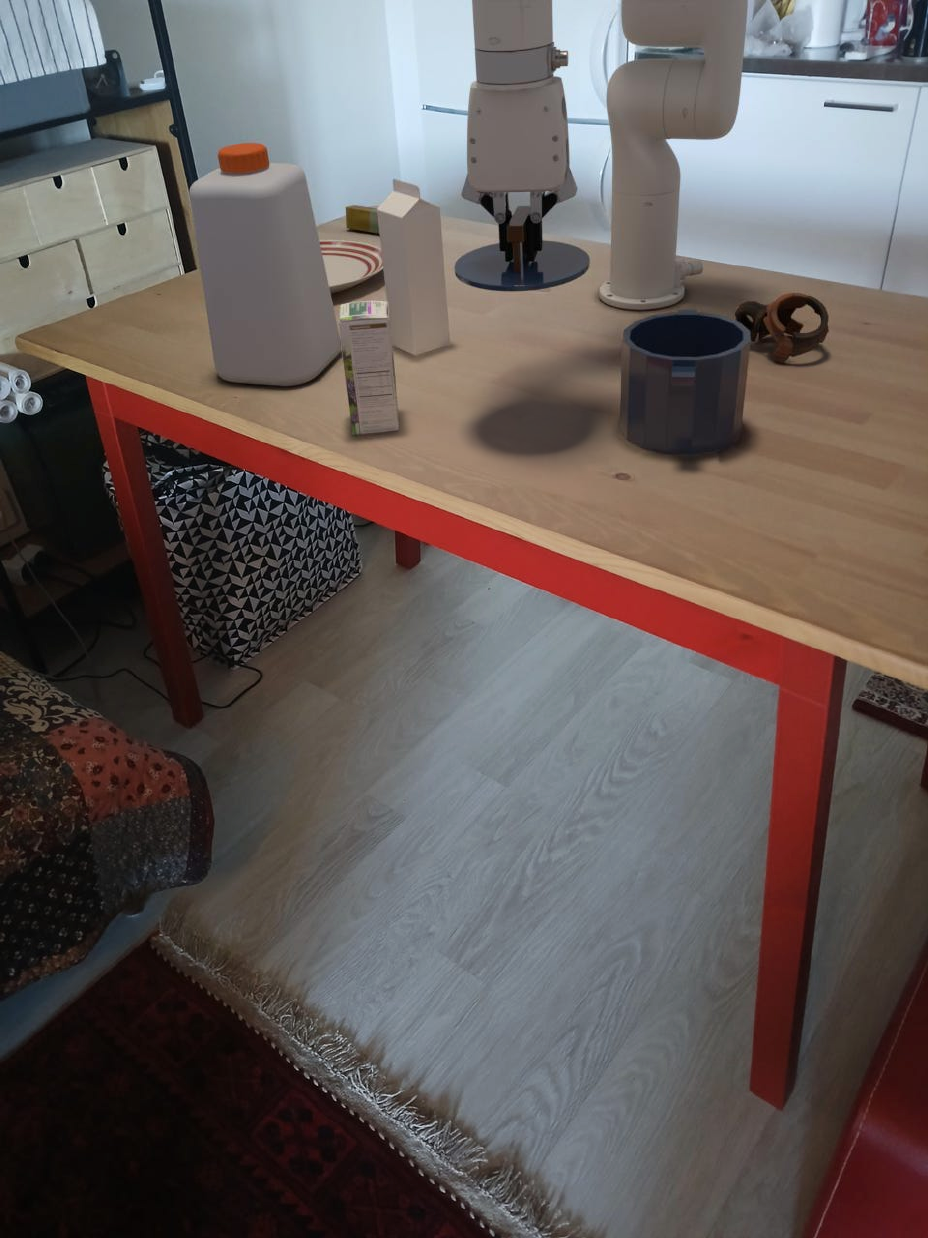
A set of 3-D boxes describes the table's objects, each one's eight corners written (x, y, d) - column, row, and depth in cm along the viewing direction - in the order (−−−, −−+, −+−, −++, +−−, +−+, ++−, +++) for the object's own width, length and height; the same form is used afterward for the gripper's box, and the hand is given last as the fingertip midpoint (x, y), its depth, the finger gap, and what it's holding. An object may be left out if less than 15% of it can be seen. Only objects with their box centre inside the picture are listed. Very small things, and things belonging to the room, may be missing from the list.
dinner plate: (304, 246, 185) (301, 227, 183) (424, 267, 171) (422, 247, 169) (190, 295, 168) (186, 274, 166) (313, 322, 154) (310, 300, 152)
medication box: (405, 234, 187) (405, 211, 185) (397, 237, 185) (396, 213, 183) (354, 226, 193) (353, 203, 191) (345, 228, 191) (344, 205, 189)
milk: (415, 359, 140) (398, 191, 127) (391, 347, 144) (372, 183, 131) (451, 347, 143) (438, 180, 129) (426, 335, 147) (411, 173, 133)
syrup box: (352, 418, 127) (336, 302, 118) (400, 413, 127) (387, 297, 118) (352, 439, 122) (335, 320, 113) (402, 434, 122) (389, 315, 113)
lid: (595, 249, 115) (596, 193, 112) (582, 297, 104) (582, 237, 100) (469, 250, 118) (465, 196, 115) (442, 297, 107) (437, 238, 103)
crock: (739, 396, 124) (748, 303, 117) (741, 472, 110) (752, 371, 103) (626, 394, 127) (628, 303, 120) (613, 468, 112) (616, 369, 105)
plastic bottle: (308, 391, 134) (270, 163, 117) (206, 384, 138) (155, 162, 121) (351, 346, 145) (322, 133, 128) (255, 341, 149) (215, 133, 133)
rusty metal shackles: (819, 337, 138) (842, 296, 130) (804, 392, 135) (826, 352, 127) (733, 311, 139) (750, 269, 132) (716, 364, 136) (732, 324, 128)
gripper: (599, 55, 100) (598, 245, 112) (443, 62, 103) (457, 246, 115) (592, 70, 95) (591, 269, 106) (426, 77, 98) (443, 270, 109)
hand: (521, 256), depth 110 cm, fingers closed on lid
